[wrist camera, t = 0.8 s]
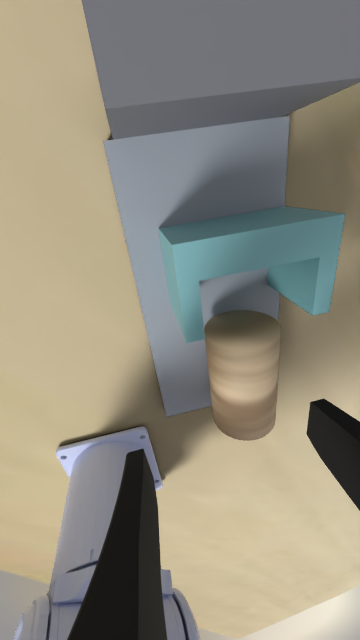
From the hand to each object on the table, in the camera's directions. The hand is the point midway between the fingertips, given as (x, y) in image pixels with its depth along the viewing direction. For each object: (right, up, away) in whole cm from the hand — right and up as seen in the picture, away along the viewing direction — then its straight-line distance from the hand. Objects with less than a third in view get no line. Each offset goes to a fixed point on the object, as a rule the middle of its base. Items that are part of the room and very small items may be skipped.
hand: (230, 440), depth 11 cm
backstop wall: (-1, +17, +2) cm, 17 cm away
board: (0, +7, +8) cm, 10 cm away
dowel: (+2, +2, +10) cm, 10 cm away
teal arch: (+1, +9, +6) cm, 11 cm away
